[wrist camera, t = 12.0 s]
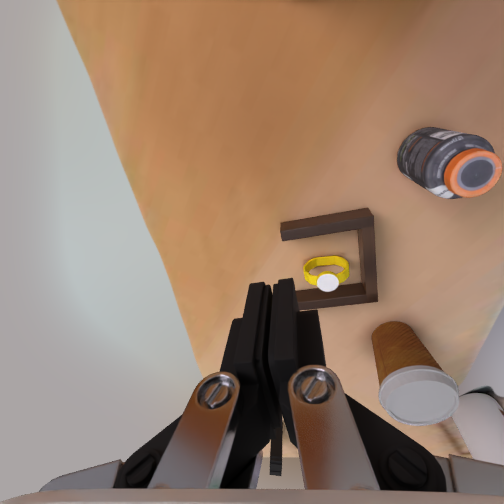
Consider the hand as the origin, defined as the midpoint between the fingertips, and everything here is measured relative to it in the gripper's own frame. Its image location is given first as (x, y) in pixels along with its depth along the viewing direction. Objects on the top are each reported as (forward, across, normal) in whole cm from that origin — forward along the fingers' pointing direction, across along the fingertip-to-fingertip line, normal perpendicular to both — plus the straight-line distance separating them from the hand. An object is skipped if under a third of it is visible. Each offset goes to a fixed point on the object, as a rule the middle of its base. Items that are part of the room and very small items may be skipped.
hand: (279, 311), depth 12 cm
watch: (+29, -3, +14) cm, 33 cm away
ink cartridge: (+29, +11, +52) cm, 61 cm away
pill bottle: (+29, -16, +2) cm, 33 cm away
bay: (+29, -3, +14) cm, 32 cm away
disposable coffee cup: (+29, -12, +30) cm, 44 cm away
